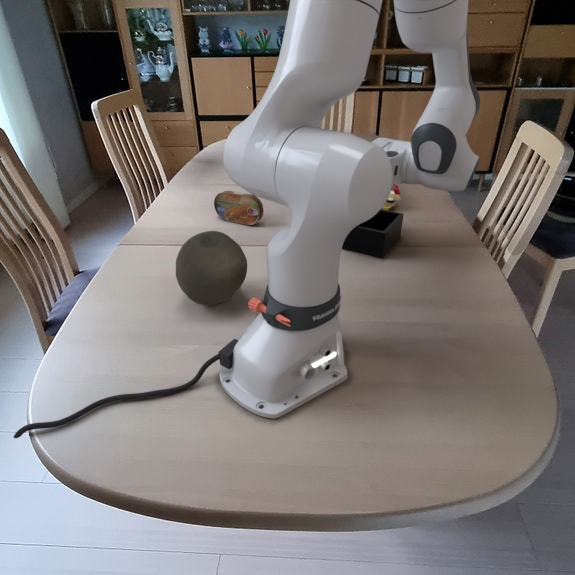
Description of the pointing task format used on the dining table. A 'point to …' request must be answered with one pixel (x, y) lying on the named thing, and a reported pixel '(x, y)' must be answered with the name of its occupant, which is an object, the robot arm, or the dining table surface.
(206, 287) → the dark brown ball
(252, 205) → the tin
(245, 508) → the dining table surface
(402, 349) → the dining table surface
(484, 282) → the dining table surface
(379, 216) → the bin
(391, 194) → the cat figure
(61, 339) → the dining table surface
